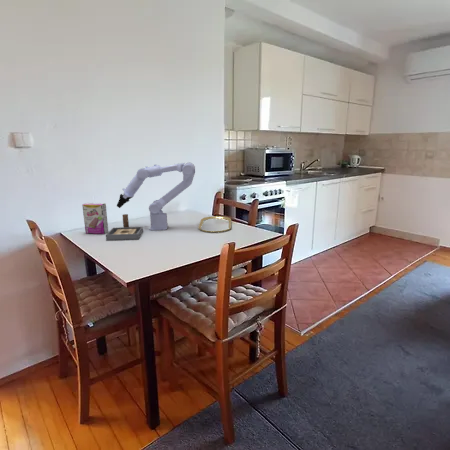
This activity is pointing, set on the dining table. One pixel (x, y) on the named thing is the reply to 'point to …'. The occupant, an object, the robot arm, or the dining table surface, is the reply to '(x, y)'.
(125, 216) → the walnut peg
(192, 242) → the dining table surface
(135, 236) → the charcoal tray
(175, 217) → the dining table surface
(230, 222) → the gold wire ring
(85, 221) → the candy bar box
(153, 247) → the dining table surface
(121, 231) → the oak hole plate
